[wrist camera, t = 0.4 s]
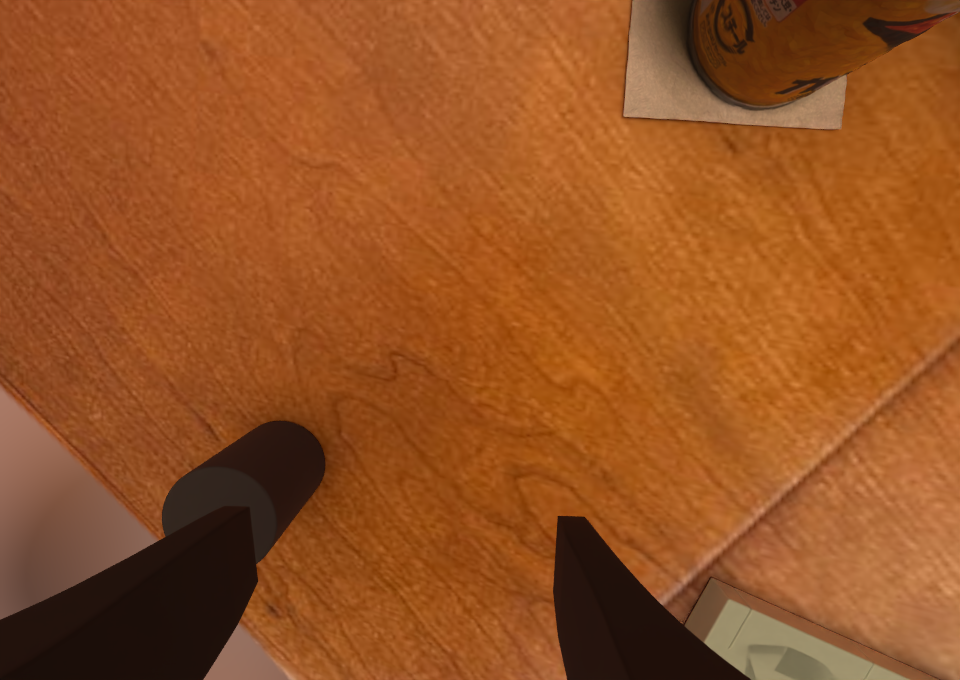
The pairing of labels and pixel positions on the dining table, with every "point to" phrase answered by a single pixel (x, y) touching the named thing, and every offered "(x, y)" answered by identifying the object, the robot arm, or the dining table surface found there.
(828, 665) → the plate
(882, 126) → the dining table surface
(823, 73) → the condiment
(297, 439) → the stopper
